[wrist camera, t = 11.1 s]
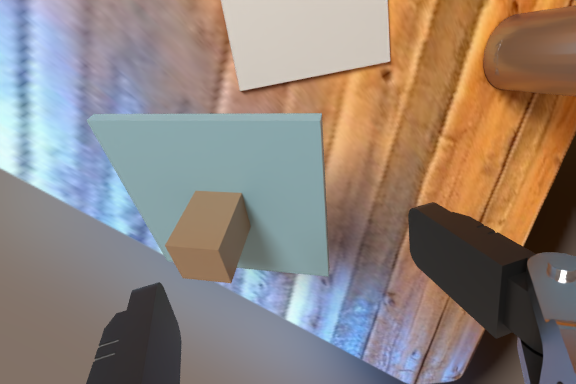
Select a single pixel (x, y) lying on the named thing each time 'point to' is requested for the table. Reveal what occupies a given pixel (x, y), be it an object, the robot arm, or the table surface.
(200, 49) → the table surface
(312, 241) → the cover sheet
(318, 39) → the mat
